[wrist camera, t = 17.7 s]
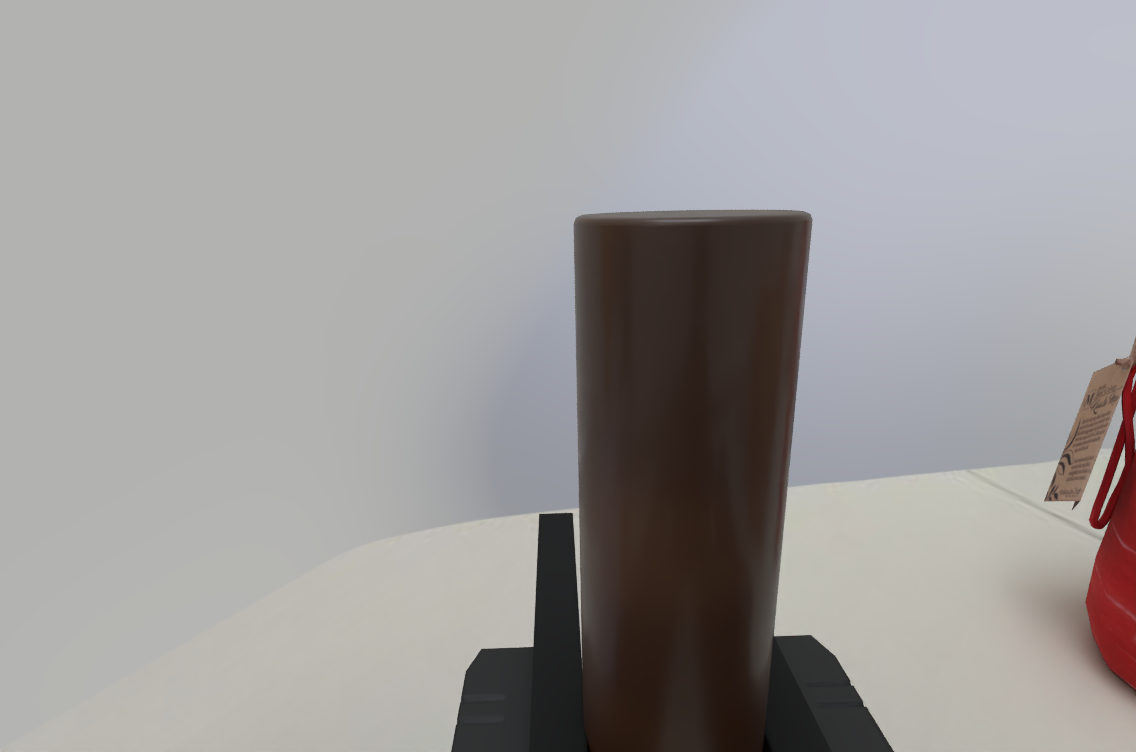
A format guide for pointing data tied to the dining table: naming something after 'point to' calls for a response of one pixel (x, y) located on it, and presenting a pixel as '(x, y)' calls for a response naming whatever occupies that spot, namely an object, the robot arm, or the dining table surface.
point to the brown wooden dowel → (684, 468)
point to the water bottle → (1107, 511)
